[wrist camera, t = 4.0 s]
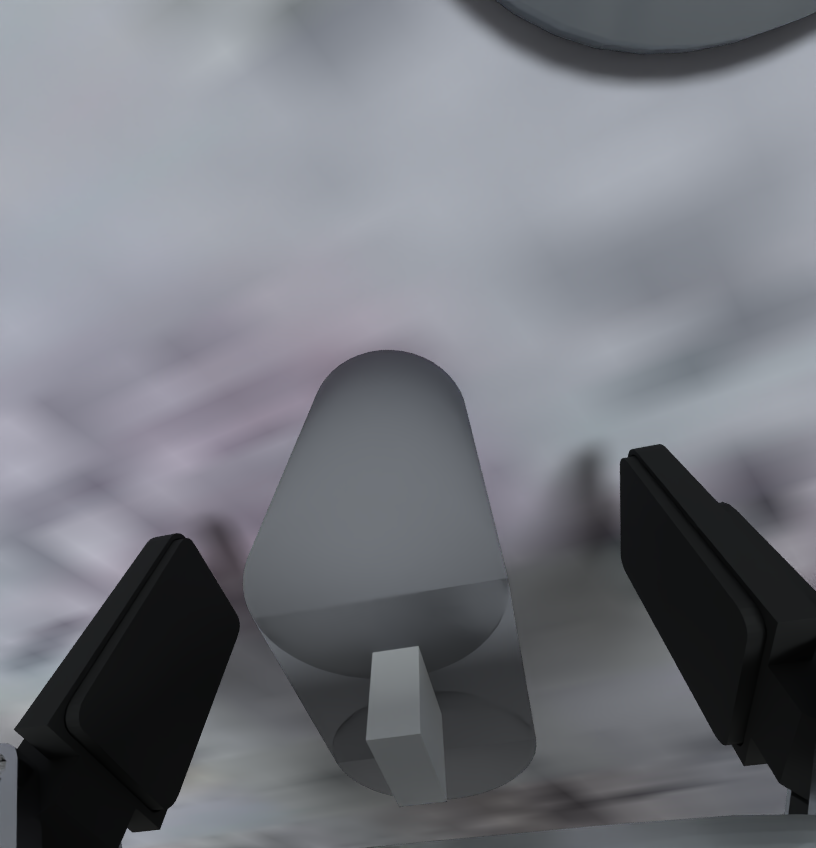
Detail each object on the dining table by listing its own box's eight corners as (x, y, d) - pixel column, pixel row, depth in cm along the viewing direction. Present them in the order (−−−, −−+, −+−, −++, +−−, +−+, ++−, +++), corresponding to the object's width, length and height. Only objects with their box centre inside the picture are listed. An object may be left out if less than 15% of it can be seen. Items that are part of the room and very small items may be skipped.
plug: (290, 369, 10) (147, 603, 5) (451, 333, 10) (509, 542, 4) (378, 602, 14) (357, 891, 8) (498, 583, 13) (562, 872, 8)
